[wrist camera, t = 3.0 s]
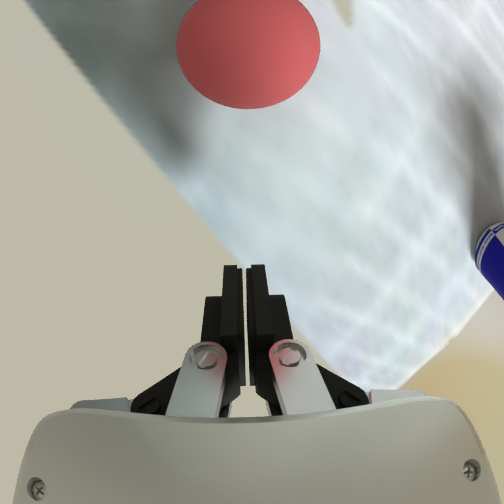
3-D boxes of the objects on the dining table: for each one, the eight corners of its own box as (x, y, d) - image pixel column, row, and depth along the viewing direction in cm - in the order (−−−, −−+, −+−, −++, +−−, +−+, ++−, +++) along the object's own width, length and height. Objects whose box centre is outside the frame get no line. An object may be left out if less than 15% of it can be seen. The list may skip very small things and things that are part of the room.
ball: (231, -14, 11) (226, -61, 5) (325, 43, 12) (370, 24, 7) (168, 71, 13) (128, 66, 8) (262, 125, 15) (274, 147, 10)
